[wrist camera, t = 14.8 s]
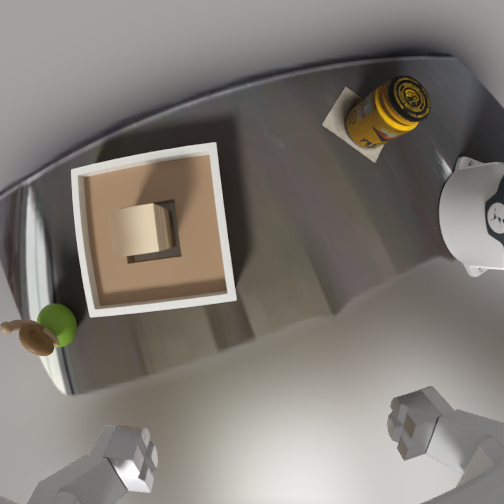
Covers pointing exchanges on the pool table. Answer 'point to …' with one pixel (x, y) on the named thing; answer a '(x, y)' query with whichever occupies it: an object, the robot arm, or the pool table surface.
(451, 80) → the pool table surface
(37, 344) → the snail figurine
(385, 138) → the condiment
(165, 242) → the beech peg
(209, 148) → the open box
